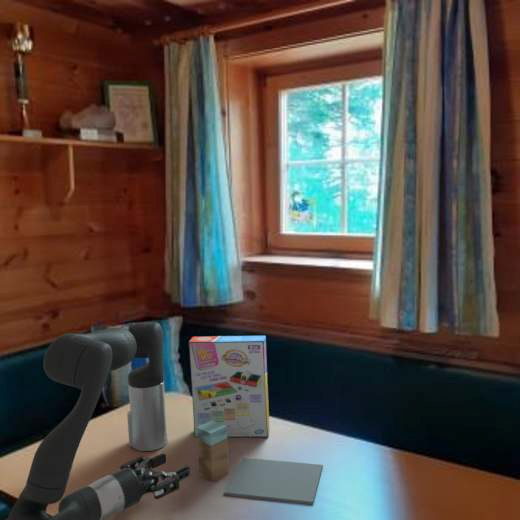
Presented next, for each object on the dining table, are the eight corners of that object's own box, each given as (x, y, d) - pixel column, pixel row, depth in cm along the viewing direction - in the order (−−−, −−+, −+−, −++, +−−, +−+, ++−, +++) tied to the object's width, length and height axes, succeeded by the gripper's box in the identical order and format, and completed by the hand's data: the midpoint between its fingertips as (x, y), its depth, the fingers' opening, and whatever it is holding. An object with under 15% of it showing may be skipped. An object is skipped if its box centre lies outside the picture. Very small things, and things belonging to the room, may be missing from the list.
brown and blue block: (198, 475, 132) (196, 427, 131) (214, 466, 136) (212, 420, 134) (212, 482, 129) (210, 433, 127) (228, 473, 132) (226, 426, 131)
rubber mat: (223, 494, 124) (223, 492, 123) (242, 459, 139) (242, 457, 139) (313, 504, 119) (313, 501, 119) (322, 467, 134) (322, 464, 134)
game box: (270, 429, 156) (267, 335, 152) (268, 438, 150) (265, 340, 147) (197, 428, 158) (192, 335, 154) (193, 437, 152) (188, 340, 149)
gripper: (131, 489, 107) (196, 457, 118) (93, 465, 117) (156, 438, 128) (133, 525, 108) (198, 490, 120) (95, 498, 118) (158, 468, 129)
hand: (176, 463), depth 124 cm, fingers open, 8 cm apart
